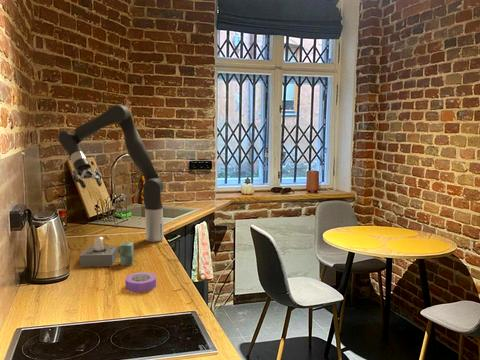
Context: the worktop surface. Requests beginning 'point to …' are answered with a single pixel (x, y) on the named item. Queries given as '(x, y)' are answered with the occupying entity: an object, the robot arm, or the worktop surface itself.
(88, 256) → the socket block
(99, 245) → the steel peg
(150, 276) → the masking tape
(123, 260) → the square peg
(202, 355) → the worktop surface
